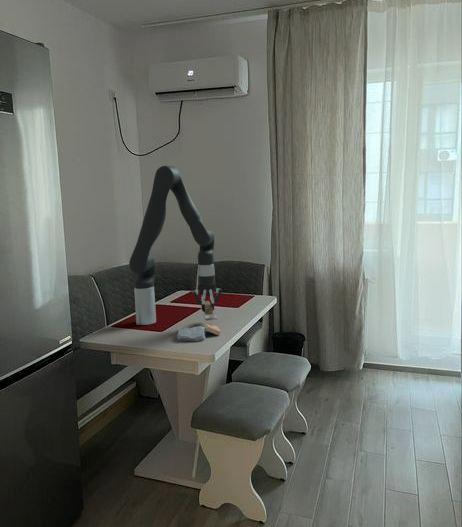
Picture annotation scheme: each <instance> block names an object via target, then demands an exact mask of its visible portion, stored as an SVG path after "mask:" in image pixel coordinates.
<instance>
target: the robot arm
mask: <svg viewBox="0 0 462 527" xmlns="http://www.w3.org/2000/svg"><path fill="white" fill-rule="evenodd" d="M170 191H171V192H172V193H173V195H174V197H175V199H176V201H177V205H178V209H179V211H180V213H181V216H182V217H183V219H184V221H185V222H186V224H187V226H188V227H189V228H190V232H191V234H192V237H193V239H194V241H195V243H196V244H197V245H198V246H199V251H198V253H197V264H198V265H197V277H198V278H197V279H198V280H197V282H198V287H197V288H196V289H195V290H192V291H191V292H192V294H193V297H195V300H196V301H197V303H198V304H201V311H202V312H203V313H204V312H205V304H204V302H205V301H206V298H207V297H209V300H210V304H211V306H212V308H213V311H214V310H215V303H218V301H219V299H220V297H221V294H222V292H223V289H221V288H218V287H217V286H216V272H215V271H216V270H215V261H214V260H215V259H214V250H215V249H214V248H215V235H214V233H213V231H212V230H210V229H207V228H206V226H205V224H204V219H203V216H202V215H201V213H200V212H199V210H198V209H197V207H196V205H195V204H194V201H193V199H192V198H191V196H190V194H189V192H188V189H187V188H186V185H185V183H184V180H183V177H182V175H181V173H180V171H179V170H178V168H177V167H176V166H173V165H162V166H160V167H158V168H157V170H156V171H155V174H154V179H153V184H152V190H151V193H150V198H149V200H148V204H147V207H146V210H145V213H144V217H143V219H142V223H141V227H140V231H139V233H138V237H137V241H136V244H135V246H134V249H133V251H132V254H131V256H130V259H129V263H128V264H129V265H128V267H129V269H130V271H131V272H132V273H133V274H136V275H137V277H136V279H134V282H133V288H134V289H133V291H134V302H135V304H134V307H135V308H134V309H135V323H136V326H137V325H141V326H144V325H146V326H147V325H152V324H155V323H157V313H156V312H157V311H156V298H155V297H156V296H155V280H156V263H155V258H154V257H153V255H152V254H151V253H150V251H151V250H152V247H153V245H154V243H155V242H156V240H157V239H158V237H159V236H160V234H161V232H163V227H164V225H165V222H166V217H167V199H168V195H169V193H170ZM215 292H216V295H215V297H214V294H215ZM199 294H200V295H201V299H200V298H199V296H198V295H199Z"/></svg>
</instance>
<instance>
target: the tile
mask: <svg viewBox="0 0 462 527" xmlns="http://www.w3.org/2000/svg"><path fill="white" fill-rule="evenodd" d="M203 327H204V328H205V330H206V332H209V333H212V334H214V335H216V336H220V335H221V333H222V332H221V330H220V328H219V327H218V326H217V325H215V324H211V323H210V322H207V321H204V324H203Z"/></svg>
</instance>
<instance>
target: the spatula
mask: <svg viewBox="0 0 462 527" xmlns="http://www.w3.org/2000/svg"><path fill="white" fill-rule="evenodd" d="M210 303H211V301H209V300H205V302H204V304H205V312H203V313H204V314H203V317H204V320H205V322H207V321H217V320H218V316H217V315H216V313H213V312H214V310H213V308H212V306H211V304H210Z"/></svg>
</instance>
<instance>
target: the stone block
mask: <svg viewBox="0 0 462 527" xmlns="http://www.w3.org/2000/svg"><path fill="white" fill-rule="evenodd" d="M206 332H207V331H206V329H205V327H204V326H200V325H199V326H193V327H191V328H185V327H180V328H179V329H178V330H177V336H176V337H177V338H176V339H177V341H179V342H181V341H182V342H183V341H184V342H201V341H205V340H206V339H207V338H206Z"/></svg>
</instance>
